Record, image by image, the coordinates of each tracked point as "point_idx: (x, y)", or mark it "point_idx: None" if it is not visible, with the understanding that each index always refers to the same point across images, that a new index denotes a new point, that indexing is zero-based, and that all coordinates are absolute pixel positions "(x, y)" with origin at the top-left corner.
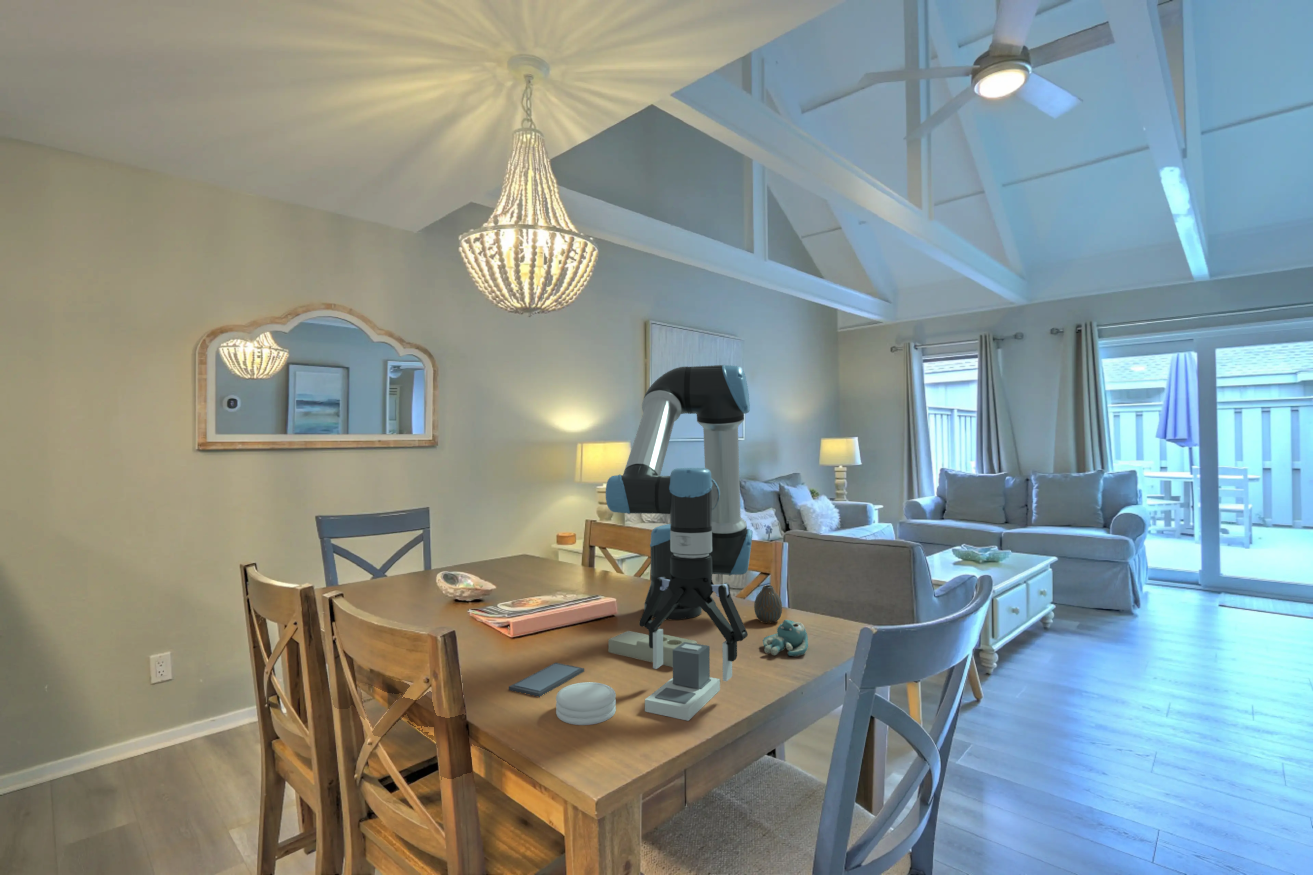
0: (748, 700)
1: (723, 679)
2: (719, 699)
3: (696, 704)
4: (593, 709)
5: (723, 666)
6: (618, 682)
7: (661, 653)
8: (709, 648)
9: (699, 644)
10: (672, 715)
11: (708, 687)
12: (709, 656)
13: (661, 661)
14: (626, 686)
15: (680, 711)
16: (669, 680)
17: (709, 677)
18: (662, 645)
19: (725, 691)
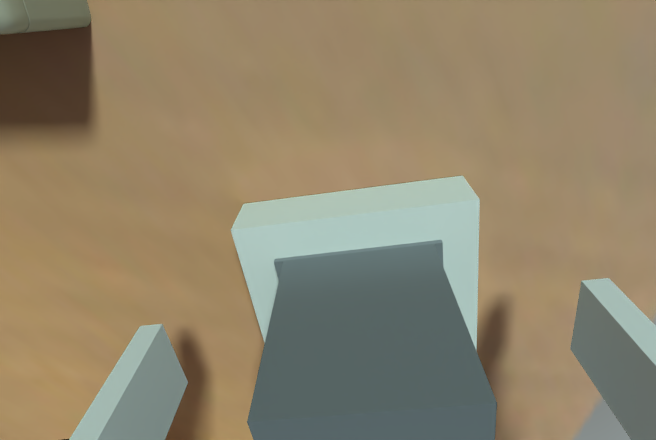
0: (633, 205)
1: (577, 352)
2: (498, 261)
3: None
4: None
5: (621, 415)
6: (48, 331)
7: (141, 397)
8: (487, 380)
9: (396, 411)
10: None
11: (465, 312)
12: (469, 334)
13: (161, 357)
14: (104, 342)
15: None
16: (264, 334)
17: (435, 249)
18: (111, 431)
19: (494, 174)
